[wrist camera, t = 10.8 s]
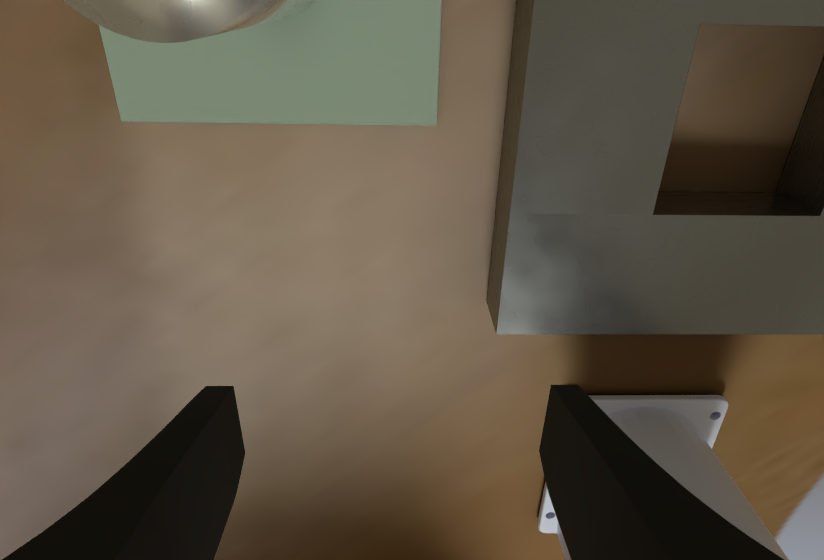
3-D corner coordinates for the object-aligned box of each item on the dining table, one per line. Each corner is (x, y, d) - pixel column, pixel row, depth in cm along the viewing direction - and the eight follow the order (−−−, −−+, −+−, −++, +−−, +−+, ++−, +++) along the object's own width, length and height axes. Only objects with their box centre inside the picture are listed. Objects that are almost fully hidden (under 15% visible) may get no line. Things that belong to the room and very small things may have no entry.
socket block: (847, 302, 24) (894, 334, 21) (486, 301, 23) (496, 334, 21) (1064, -158, 16) (1170, -183, 14) (533, -176, 15) (557, -204, 13)
